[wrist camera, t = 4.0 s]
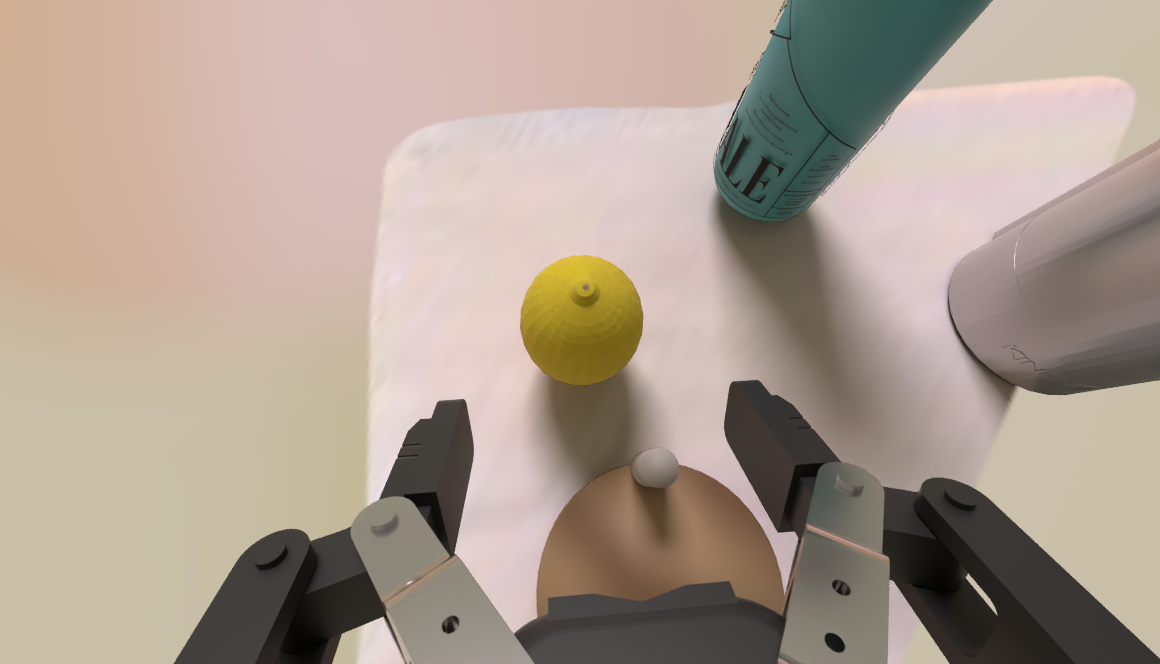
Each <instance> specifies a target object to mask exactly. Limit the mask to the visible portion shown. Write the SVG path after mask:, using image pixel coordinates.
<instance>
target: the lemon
mask: <svg viewBox="0 0 1160 664" xmlns="http://www.w3.org/2000/svg"><path fill="white" fill-rule="evenodd" d="M642 328H643V312H642V306H641V301H640V297H639V295H638V293H637V291H636V289H635V287H634V285H633V283H632V281H631V280H630V279H629V278H628V277H627V275H626V274H625V273H624V272H623V271H622V270H621V269H619V268H618V267H616V266H615V265H614V264H612V263H611V262H608V261H606V260H603V259H601V258H598V257H592V256H587V255H583V256H571V257H567V258H564V259H561V260H558V261H556V262H555V263H553V264H551V265H549V266H548V267H546V268H545V269H544V270H543V271H542V272H541V273H540V274H539V275H538V276H537V277H536V278H535V279H534V281H533V283H532V284H531V286H530V287H529V289H528V291H527V293H526V295H525V299H524V302H523V305H522V308H521V323H520V329H521V334H522V338H523V342H524V345H525V348H526V350H527V351H528V353H529V355H530V357H531V359H532V360H533V362H534V363H535V364H536V365H537V366H538V367H539V368H540V369H541V370H542V371H543V372H544V373H546V374H547V375H549V376H551V377H552V378H554V379H556V380H558V381H561V382H564V383H567V384H570V385H590V384H595V383H600V382H602V381H604V380H606V379H608V378H610V377H613V376H614V375H615V374H617V373H618V372H619V371H620V370H621V369H622V368H624V367H625V366H626V365H627V363H628V362H629V361H630V359H631V358H632V356H633V355H634V353H635V352H636V350H637V347H638V344H639V341H640V338H641V336H642Z"/></svg>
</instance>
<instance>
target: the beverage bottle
mask: <svg viewBox="0 0 1160 664" xmlns="http://www.w3.org/2000/svg"><path fill="white" fill-rule="evenodd" d="M992 1H993V0H788V3H787V5H785V7H786V8H785V7H784V8H785V10H784V12H783V14H782V16H781V18H780V20H779V23H778V25H777V27H776V29H775V31H774V30H771V31H770V33H771V34H772V38H771V40H770V42H769V44H768V46H767V48H766V50H765V52H764V53H762V55H763V54H764V55H763V57H762V58H761V59H760V60H761V61H760V63H759V62H758V63H759V66H758V68H757V70H756V72H755V74H754V76H753V78H752V81H751V83H750V85H749V87H748V89H747V91H746V93H745V96H744V98H743V100H742V102H741V104H740V106H739V108H738V110H737V113H736V115H735V117H734V119H733V121H732V123H731V126H730V128H729V130H728V132H726V133H727V134H726V136H725V137H724V138H725V139H724V138H723V136H724V134H723V136H722V138H723V139H724V140H723V139H722V138H721V141H722V140H723V142H722V144H721V146H720V145H719V151H718V154H717V155H716V161H715V170H714V174H715V182H716V185H717V188H718V190H719V192H720V194H721V195H722V197H723V198H724V200H725V201H726V202H727V203H728V204H729V205H730V206H731V207H732V208H734V209H735V210H736V211H738V212H739V213H741V214H743V215H745V216H747V217H750V218H753V219H756V220H761V221H782V220H786V219H789V218H792V217H794V216H797V215H798V214H800V213H801V212H803V211H804V210H806V209H807V208H808V207H809V206H810V205H811V204H812V203H813V202H814V201H815V200H816V199H817V198H818V197H819V196H820V194H821V193H822V192H823V191H824V190H825V189H826V188H827V187H828V185H829V184H830V185H831V182H832V181H833V180H834V179H835V178H836V176H837V175H838V174H840V172H841V171H842V170H843V168H844V167H846V165H847V164H848V163H850V161H851V159H852V158H853V157H854V156H855V155H856V154H857V153H858V152H859V150H860V149H861V148H862V147H863V146H864V145H865V144H866V143H867V142H868V140H869V139H870V138H871V137H872V136H873V135H874V133H875V132H877V130H878V129H879V127H880V126H881V125H882V124H883V125H884V123H883V122H884V121H885V120H886V119H887V117H888V116H889V115H890V114H891V113H893V111H894V110H895V108H896V107H897V106H898V105H899V104H900V103H901V102H902V101H903V100H904V98H905V97H906V96H907V95H908V94H909V93H910V92H911V91H912V90H913V88H914V87H915V86H916V85H917V84H918V83H919V82H920V81H921V80H922V78H923V77H924V76H925V75H926V74H927V73H928V72H929V71H930V70H931V68H932V67H933V66H934V65H935V64H936V63H937V62H938V61H939V60H940V58H941V57H942V56H943V55H944V54H945V53H946V52H947V51H948V50H949V48H950V47H951V46H952V45H953V44H954V43H955V42H956V41H957V40H958V38H960V36H961V35H962V34H963V33H964V32H965V31H966V30H967V29H968V28H969V26H970V25H971V24H972V23H973V22H974V21H975V20H976V19H977V18H978V16H979V15H980V14H981V13H982V12H983V11H984V10H985V9H986V8H987V6H988V5H989V4H990V3H991V2H992ZM782 6H783V5H782ZM780 10H781V9H780ZM781 11H782V10H781ZM778 15H779V14H778ZM773 32H774V33H773ZM756 65H757V64H756ZM755 69H756V68H755ZM745 90H746V88H745V89H744V91H743V93H742V95H741V98H740V100H739V101H738V103H737V105H736V109H737V107H738V105H739V103H740V101H741V99H742V96H743V94H744V92H745ZM736 109H735V111H734V112H733V115H732V116H731V118H730V119H731V120H732V118H733V116H734V114H735V112H736ZM891 115H892V114H891ZM890 117H891V116H890ZM889 119H890V118H889ZM731 120H730V122H731ZM730 122H729V124H728V126H727V127H726V129H727V128H728V127H729V125H730ZM887 122H888V121H887ZM885 125H886V124H885ZM882 129H883V128H882ZM882 129H881V130H882ZM881 130H880V131H881ZM725 131H726V130H725ZM724 133H725V132H724ZM874 138H875V137H874ZM874 138H873V139H874ZM873 139H872V140H873ZM872 140H871V141H872ZM721 141H720V143H721ZM720 143H719V144H720ZM717 148H718V147H717ZM865 148H866V147H865ZM865 148H864V149H865ZM864 149H863V150H864ZM717 150H718V149H717ZM716 153H717V152H716ZM857 157H858V156H857ZM857 157H856V158H857ZM856 158H855V159H856ZM855 159H854V160H855ZM848 167H849V166H848ZM848 167H847V168H848ZM847 168H846V169H847ZM838 176H839V175H838ZM839 177H840V176H839ZM839 177H838V178H839ZM838 178H837V179H838ZM832 183H833V182H832ZM831 186H832V185H831ZM831 186H830V187H831ZM830 187H829V188H830ZM829 188H828V189H829ZM823 193H824V192H823ZM822 196H823V194H822Z"/></svg>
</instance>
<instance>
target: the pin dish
mask: <svg viewBox="0 0 1160 664" xmlns="http://www.w3.org/2000/svg"><path fill="white" fill-rule="evenodd" d="M723 581H730V583H731V586H732V588H733V591H734V593H735V596H736V597H741V598H745V599H748V600H751V601H754V602H757V603H759V604H762V605H764V606H766V607H768V608H770V609H772V610H774V611H776V612H777V613H779V614H780V613H781V609H782V605H783V601H784V590H783V584H782V578H781V573H780V570H779V566H778V563H777V559H776V556H775V554H774V551H773V549H772V547H771V544H770V542H769V540H768V538H767V536H766V534H765V532H764V531H763V529H762V527H761V525H760V524H759V522H758V521H757V519H756V518H755V517H754V515H753V514H752V512H751V511H750V510H749V509H748V508H747V507H746V505H745V504H744V503H743V502H742V501H741V500H740V499H739V498H738V497H737V496H736V495H735V494H734V493H732V492H731V491H730V490H729V489H728V488H727V487H725V486H724V485H722V484H721V483H719V482H718V481H717V480H715V479H713V478H711V477H710V476H708V475H706V474H704V473H702V472H700V471H697V470H694V469H692V468H689V467H686V466H682V465H679V464H678V461H677V459H676V457H675V456H674V455H673V453H671V452H670V451H669V450H667V449H664V448H653V449H650V450H647V451H644V452H640V453H638V454H637V455H636V456H635V457H634V458H633V460H632V462H631V465H626V466H622V467H619V468H616V469H613V470H610V471H609V472H607V473H605V474H603V475H601V476H599V477H597V478H595V479H594V480H593V481H591V482H590V483H588V484H587V485H585V486H584V487H583V488H582V489H581V490H580V491H579V492H578V493H577V494H575V495H574V496H573V498H572V499H571V500H570V501H569V502H568V504H567V505H566V506H565V507H564V509H563V510H562V512H561V513H560V515H559V516H558V518H557V519H556V521H555V523H554V525H553V527H552V529H551V531H550V533H549V536H548V539H547V541H546V544H545V547H544V550H543V553H542V557H541V562H540V566H539V571H538V580H537V614H538V617H540V616H542V615H545V614H547V613H548V598H550V597H561V596H571V595H582V594H593V593H594V594H600V595H605V596H611V597H617V598H623V599H629V600H635V601H645V600H648V599H651V598H653V597H656V596H658V595H661V594H664V593H666V592H669V591H671V590H674V589H677V588H679V587H682V586H684V585H691V584H701V583H712V582H723Z"/></svg>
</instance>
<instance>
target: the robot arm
mask: <svg viewBox="0 0 1160 664" xmlns="http://www.w3.org/2000/svg"><path fill="white" fill-rule="evenodd" d="M949 303H950V310H951V314H952V317H953V320H954V322H955V325H956V328H957V330H958V331H959V333H960V335H961V337H962V338H963V340H964V342H965V343H966V345H967V346H968V347H969V348H970V350H971V351H972V352H973V353H974V354H975V355H976V357H977V358H978V359H979V360H980V361H981V362H982V363H984V364H985V365H986V366H987V367H988V368H989V369H991V370H992V371H993V372H994V373H996V374H997V375H999V376H1000V377H1002V378H1004V379H1005V380H1007V381H1008V382H1010V383H1012V384H1014V385H1017V386H1019V387H1022V388H1024V389H1026V390H1029V391H1033V392H1038V393H1042V394H1047V395H1068V394H1074V393H1080V392H1087V391H1093V390H1100V389H1105V388H1112V387H1119V386H1125V385H1131V384H1138V383H1144V382H1150V381H1156V380H1157V381H1158V380H1160V140H1158V141H1156V142H1155V143H1153V144H1151V145H1149V146H1147V147H1146V148H1144V149H1142V150H1140V151H1138V152H1137V153H1135V154H1133V155H1131V156H1130V157H1128V158H1126V159H1124V160H1123V161H1121V162H1119V163H1117V164H1115V165H1114V166H1112V167H1110V168H1108V169H1107V170H1105V171H1103V172H1101V173H1100V174H1098V175H1096V176H1094V177H1092V178H1091V179H1089V180H1087V181H1085V182H1084V183H1082V184H1080V185H1078V186H1077V187H1075V188H1073V189H1071V190H1069V191H1068V192H1066V193H1064V194H1062V195H1061V196H1059V197H1057V198H1055V199H1054V200H1052V201H1050V202H1048V203H1046V204H1045V205H1043V206H1041V207H1039V208H1038V209H1036V210H1034V211H1032V212H1031V213H1029V214H1027V215H1025V216H1024V217H1022V218H1020V219H1018V220H1016V221H1015V222H1013V223H1011V224H1009V225H1008V226H1006V227H1004V228H1002V229H1001V230H999V231H997V232H996V233H995V235H994V238H993V240H992V241H990V242H989V243H987V244H985V245H983V246H981V247H979V248H978V249H976V250H974V251H972V252H971V253H970V254H968V255H967V256H966V257H965V258H963V259H962V260H961V262H960V263H959V264H958V266H957V267H956V268H955V270H954V273H953V275H952V278H951V281H950V287H949ZM724 430H725V436H726V439H727V442H728V444H729V446H730V447H731V449H732V451H733V453H734V455H735V456H736V458H737V460H738V462H739V464H740V465H741V467H742V469H743V471H744V473H745V474H746V476H747V478H748V480H749V482H750V483H751V485H752V487H753V489H754V491H755V492H756V494H757V496H758V498H759V500H760V501H761V503H762V505H763V507H764V509H765V510H766V512H767V514H768V516H769V518H770V519H771V521H772V523H773V525H774V527H775V528H776V530H777V532H778V533H779V532H791V531H795V533H796V535H797V536H798V538H799V539H798V542H797V546H796V550H795V554H794V558H793V562H792V567H791V571H790V575H789V580H788V584H787V588H786V592H785V597H784V601H783V605H782V609H781V613H780V614H779V613H777V612H776V611H774V610H772V609H770V608H768V607H766V606H764V605H762V604H759V603H757V602H754V601H751V600H748V599H745V598H741V597H736V596H735V593H734V591H733V588H732V586H731V583H730V581H723V582H712V583H701V584H691V585H684V586H682V587H679V588H677V589H674V590H671V591H669V592H666V593H664V594H661V595H658V596H656V597H653V598H651V599H648V600H645V601H635V600H629V599H623V598H617V597H611V596H605V595H600V594H594V593H593V594H582V595H571V596H561V597H550V598H548V613H547V614H545V615H542V616H540V617H538V618H536V619H534V620H532V621H531V622H529V623H527V624H526V625H524V626H523V627H522V628H520V629H519V630H518V631H516V632H515V633H514V634H513V632H512V631H511V630H510V628H509V627H508V625H507V624H506V623H505V621H504V620H503V618H502V617H501V616H500V614H499V613H498V611H497V610H496V608H495V607H494V606H493V604H492V603H491V601H490V600H489V599H488V597H487V596H486V594H485V593H484V591H483V590H482V589H481V587H480V586H479V584H478V583H477V582H476V580H475V579H474V577H473V576H472V575H471V573H470V572H469V570H468V569H467V567H466V566H465V565H464V563H463V562H462V560H461V559H460V558H459V557H458V556H457V555H456V554H454V552H455V547H456V542H457V537H458V532H459V527H460V522H461V517H462V513H463V508H464V503H465V498H466V493H467V488H468V483H469V478H470V473H471V468H472V463H473V456H474V445H473V437H472V431H471V426H470V420H469V415H468V409H467V404H466V401H465V400H464V399H459V400H444V401H438V402H437V405H436V407H435V410H434V413H433V416H432V418H431V419H420V420H419V421H418V422H417V423H416V424H415V425H414V426H413V427H412V428H411V429H410V430H409V431H408V433H407V435H406V437H405V440H404V442H403V444H402V448H401V449H400V452H399V454H398V459H396V461H395V463H394V466H393V468H392V470H391V473H390V475H389V477H388V480H387V482H386V485H385V487H384V489H383V492H382V494H381V496H380V499H379V500H378V501H376V502H374V503H372V504H371V505H369V506H368V507H366V508H365V509H364V510H363V511H362V512H360V513H359V515H358V516H357V517H356V518H355V520H354V522H353V524H352V526H351V527H349V528H347V529H345V530H342V531H339V532H336V533H334V534H331V535H328V536H325V537H322V538H319V539H316V540H313V541H310V539H309V537H308V535H307V534H306V533H305V532H303V531H301V530H298V529H286V530H282V531H278V532H275V533H272V534H270V535H268V536H266V537H264V538H262V539H260V540H259V541H257V542H256V543H255V544H253V545H252V546H251V547H249V548H248V549H247V550H246V551H245V552H244V553H243V554H242V555H241V556H240V558H239V559H238V561H237V562H236V564H235V565H234V567H233V568H232V570H231V572H230V573H229V575H228V577H227V578H226V580H225V582H224V583H223V585H222V586H221V588H220V590H219V591H218V593H217V595H216V596H215V598H214V599H213V601H212V602H211V604H210V606H209V607H208V609H207V611H206V612H205V614H204V616H203V617H202V619H201V620H200V622H199V624H198V625H197V627H196V628H195V630H194V632H193V633H192V635H191V636H190V638H189V640H188V641H187V643H186V645H185V647H184V648H183V649H182V651H181V653H180V654H179V656H178V658H177V659H176V661H175V663H174V664H332V662H333V659H334V656H335V653H336V650H337V647H338V644H339V641H340V638H341V635H342V633H345V632H347V631H349V630H352V629H354V628H357V627H359V626H362V625H364V624H366V623H369V622H371V621H374V620H376V619H379V618H381V617H383V618H384V620H385V623H386V625H387V627H388V629H389V631H390V633H391V635H392V638H393V640H394V642H395V644H396V646H397V648H398V650H399V653H400V655H401V657H402V659H403V661H404V663H405V664H887V658H888V616H889V580H893V581H894V582H895V584H896V585H897V587H898V588H899V590H900V591H901V593H902V594H903V596H904V597H905V599H906V600H907V602H908V603H909V605H910V606H911V607H912V609H913V610H914V612H915V613H916V615H917V616H918V618H919V619H920V621H921V622H922V624H923V625H924V626H925V628H926V629H927V631H928V632H929V634H930V635H931V637H932V638H933V639H934V641H935V643H936V644H937V646H938V647H939V649H940V650H941V652H942V653H943V655H944V656H945V657H946V659H947V660H948V662H949V663H950V664H1160V658H1158V657H1157V656H1156V655H1155V654H1154V653H1153V652H1152V651H1151V650H1150V649H1149V648H1148V647H1147V646H1146V645H1145V644H1143V643H1142V642H1141V641H1140V640H1139V639H1138V638H1137V637H1136V636H1135V635H1134V634H1133V633H1132V632H1131V631H1130V630H1129V629H1127V628H1126V627H1125V626H1124V625H1123V624H1122V623H1121V622H1120V621H1119V620H1118V619H1117V618H1116V617H1115V616H1114V615H1112V614H1111V613H1110V612H1109V611H1108V610H1107V609H1106V608H1105V607H1104V606H1103V605H1102V604H1101V603H1100V602H1099V601H1097V600H1096V599H1095V598H1094V597H1093V596H1092V595H1091V594H1090V593H1089V592H1088V591H1087V590H1086V589H1085V588H1084V587H1083V586H1081V585H1080V584H1079V583H1078V582H1077V581H1076V580H1075V579H1074V578H1073V577H1072V576H1071V575H1070V574H1069V573H1067V572H1066V571H1065V570H1064V569H1063V568H1062V567H1061V566H1060V565H1059V564H1058V563H1057V562H1056V561H1055V560H1054V559H1053V558H1052V557H1050V556H1049V555H1048V554H1047V553H1046V552H1045V551H1044V550H1043V549H1042V548H1041V547H1039V545H1038V544H1037V543H1035V542H1034V541H1033V540H1032V539H1031V538H1030V537H1029V536H1028V535H1027V534H1026V533H1025V532H1024V531H1023V530H1022V529H1021V528H1019V527H1018V526H1017V525H1016V524H1015V523H1014V522H1013V521H1012V520H1011V519H1010V518H1009V517H1008V516H1006V514H1004V513H1003V512H1002V511H1001V510H1000V509H999V508H998V507H997V506H996V505H995V504H994V503H993V502H992V501H991V500H990V499H988V498H987V497H986V496H984V495H983V494H982V493H981V492H979V491H977V490H976V489H974V488H972V487H970V486H968V485H966V484H963V483H961V482H958V481H955V480H951V479H946V478H931V479H927V480H926V481H924V482H923V484H922V486H921V488H920V491H919V493H918V492H912V491H906V490H900V489H894V488H888V487H883V486H882V485H881V484H880V482H879V481H878V480H877V479H876V478H875V477H874V476H873V475H871V474H870V473H869V472H867V471H865V470H864V469H862V468H860V467H857V466H855V465H852V464H848V463H843V462H841V461H840V460H839V459H838V458H837V457H836V455H835V454H834V453H833V452H832V451H831V449H830V448H829V447H828V446H827V445H826V444H825V442H824V441H823V440H822V439H821V438H820V436H819V435H818V434H817V433H816V432H815V431H814V429H811V426H810V425H809V424H808V422H807V421H806V420H805V419H803V416H802V415H801V414H800V413H799V412H798V411H797V409H796V408H795V407H794V406H793V405H792V404H790V403H789V402H787V401H786V400H784V399H783V398H781V397H780V396H778V395H771V394H770V393H769V392H768V391H767V389H766V388H765V387H764V386H763V384H762V383H761V382H760V381H759V380H749V381H734V382H732V383H731V384H730V388H729V394H728V401H727V407H726V414H725V421H724ZM968 573H969V574H970V576H971V577H972V578H973V579H974V580H975V581H976V583H977V584H978V585H979V586H980V587H981V589H982V590H983V591H984V592H985V593H986V595H987V596H988V597H989V598H990V599H991V601H992V603H993V604H994V606H995V608H996V611H997V615H998V616H997V615H996V614H995V613H994V611H992V609H991V608H990V607H989V605H988V604H987V603H986V602H985V601H984V599H983V598H982V597H981V596H980V595H979V594H978V592H977V591H976V590H975V589H974V588H973V586H972V585H971V584H970V583H969V582H968V580H967V579H966V576H967V574H968Z"/></svg>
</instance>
